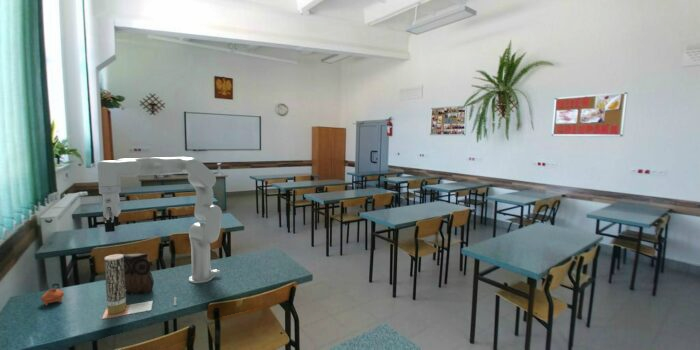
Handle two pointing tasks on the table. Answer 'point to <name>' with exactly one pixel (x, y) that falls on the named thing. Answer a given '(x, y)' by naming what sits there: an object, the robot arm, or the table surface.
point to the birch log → (115, 283)
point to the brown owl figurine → (137, 274)
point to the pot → (52, 296)
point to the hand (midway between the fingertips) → (112, 228)
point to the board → (133, 309)
